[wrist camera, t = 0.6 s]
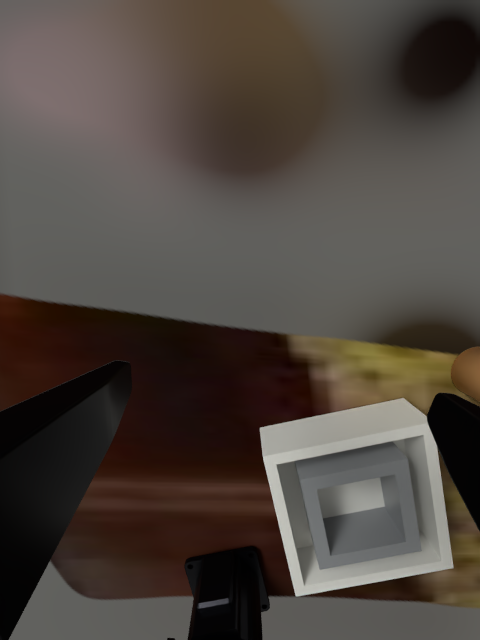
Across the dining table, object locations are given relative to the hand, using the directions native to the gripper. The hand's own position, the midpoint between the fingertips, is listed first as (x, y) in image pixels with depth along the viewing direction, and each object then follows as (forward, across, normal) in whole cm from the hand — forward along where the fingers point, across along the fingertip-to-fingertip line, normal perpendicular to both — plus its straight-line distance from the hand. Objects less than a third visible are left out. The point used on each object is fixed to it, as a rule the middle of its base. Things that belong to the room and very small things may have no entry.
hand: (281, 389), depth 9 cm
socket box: (+12, -9, +16) cm, 22 cm away
